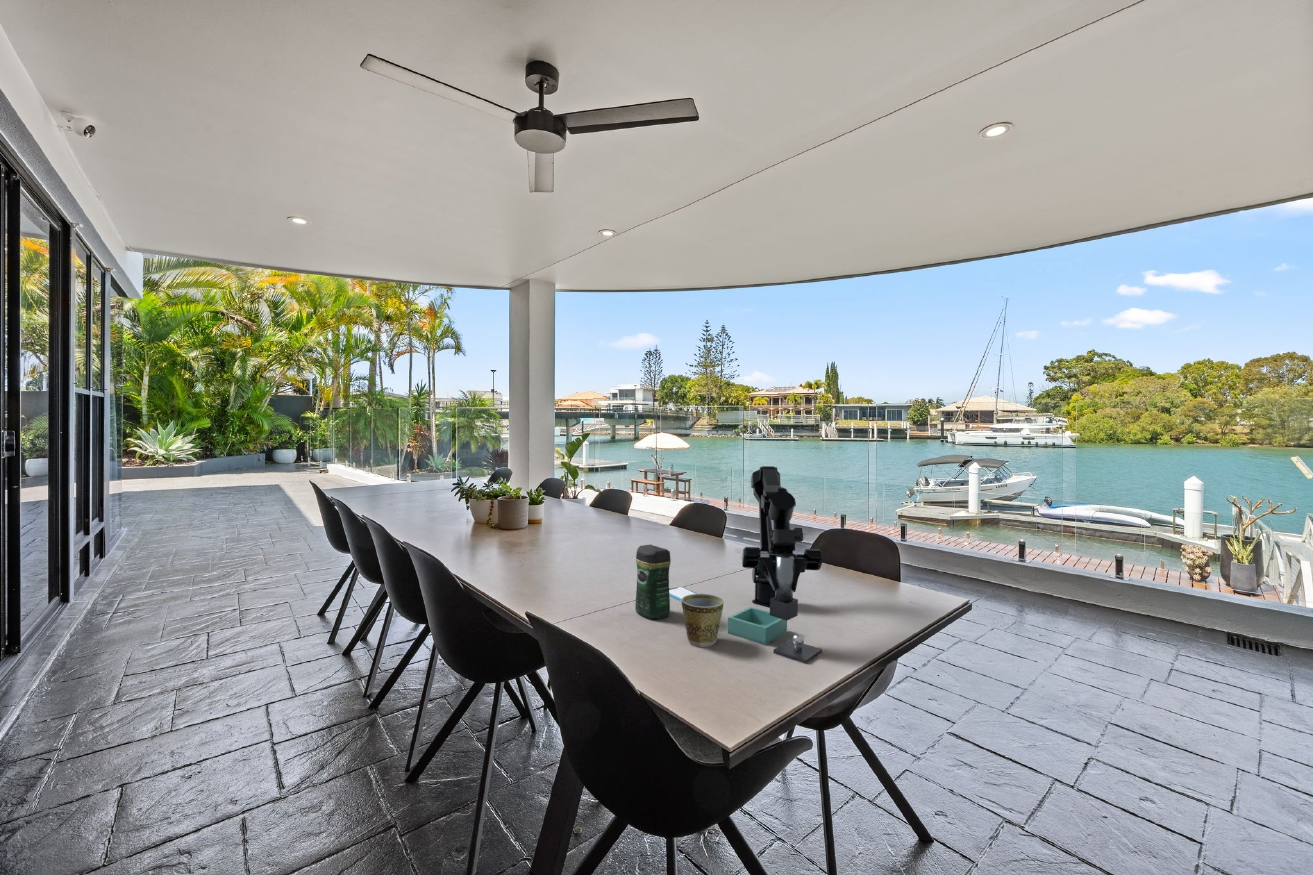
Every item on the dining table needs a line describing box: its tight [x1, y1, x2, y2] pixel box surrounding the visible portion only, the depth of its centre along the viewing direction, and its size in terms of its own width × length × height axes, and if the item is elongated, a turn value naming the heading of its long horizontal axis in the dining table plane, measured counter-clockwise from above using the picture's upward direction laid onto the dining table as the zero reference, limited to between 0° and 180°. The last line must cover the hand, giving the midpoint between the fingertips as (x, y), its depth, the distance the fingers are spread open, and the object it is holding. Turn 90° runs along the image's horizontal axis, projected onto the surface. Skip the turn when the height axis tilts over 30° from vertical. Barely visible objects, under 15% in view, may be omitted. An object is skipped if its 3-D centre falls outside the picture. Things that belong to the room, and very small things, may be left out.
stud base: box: [773, 633, 823, 665], centre depth 123 cm, size 8×8×4 cm
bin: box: [727, 606, 788, 646], centre depth 135 cm, size 11×11×4 cm
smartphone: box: [669, 586, 698, 603], centre depth 162 cm, size 8×1×15 cm
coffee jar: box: [634, 544, 672, 619], centre depth 147 cm, size 10×8×19 cm
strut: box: [769, 555, 799, 622], centre depth 126 cm, size 5×5×14 cm
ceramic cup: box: [681, 593, 724, 648], centre depth 130 cm, size 13×10×10 cm
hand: (785, 590), depth 125 cm, fingers closed on strut, 4 cm apart
